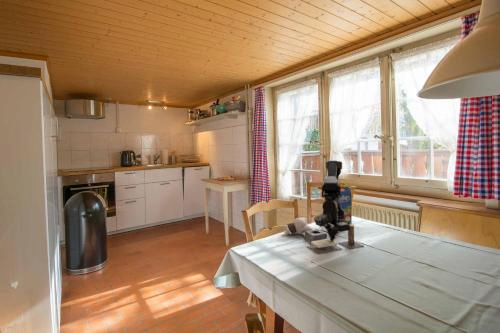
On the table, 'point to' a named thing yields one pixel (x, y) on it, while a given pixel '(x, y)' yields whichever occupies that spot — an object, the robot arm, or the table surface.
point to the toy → (297, 226)
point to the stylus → (351, 235)
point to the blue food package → (346, 202)
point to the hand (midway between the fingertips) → (332, 240)
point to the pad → (356, 245)
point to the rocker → (323, 243)
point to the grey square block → (315, 235)
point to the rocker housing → (324, 249)
